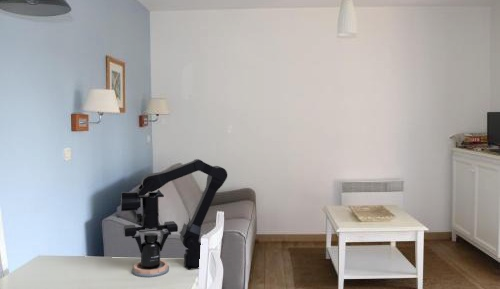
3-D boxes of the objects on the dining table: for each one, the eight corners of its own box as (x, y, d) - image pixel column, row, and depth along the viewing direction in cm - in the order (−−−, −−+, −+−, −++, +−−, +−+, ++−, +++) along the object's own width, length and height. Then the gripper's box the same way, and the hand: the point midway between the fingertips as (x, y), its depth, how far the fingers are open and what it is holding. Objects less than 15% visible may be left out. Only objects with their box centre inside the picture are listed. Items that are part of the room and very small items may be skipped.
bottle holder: (165, 263, 165) (165, 257, 165) (172, 274, 153) (172, 268, 153) (130, 267, 160) (130, 261, 160) (135, 279, 148) (134, 273, 148)
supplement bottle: (155, 270, 153) (155, 237, 152) (137, 269, 154) (137, 236, 153) (163, 264, 159) (163, 232, 159) (146, 263, 161) (146, 231, 160)
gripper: (171, 203, 167) (171, 243, 167) (121, 207, 159) (122, 248, 160) (177, 209, 156) (178, 251, 157) (124, 213, 149) (125, 257, 150)
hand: (151, 252), depth 156 cm, fingers closed on supplement bottle, 7 cm apart
